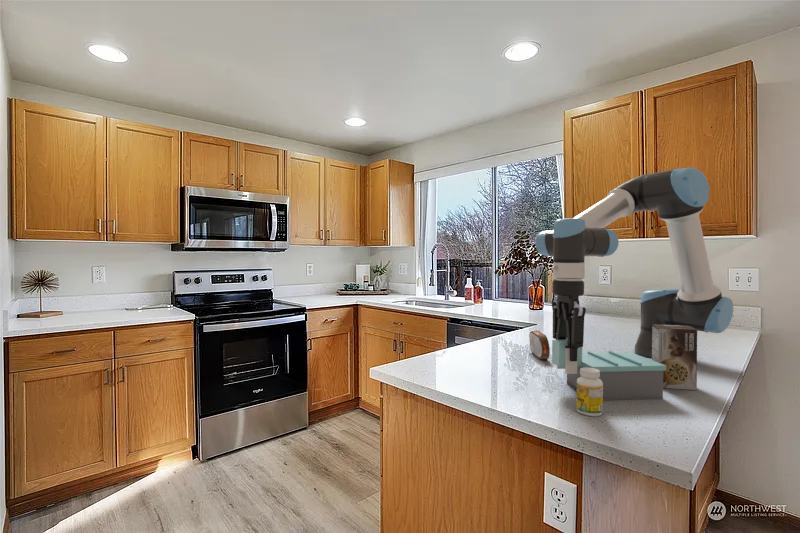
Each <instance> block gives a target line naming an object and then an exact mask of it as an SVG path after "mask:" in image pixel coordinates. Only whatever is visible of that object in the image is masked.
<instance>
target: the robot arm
mask: <svg viewBox="0 0 800 533" xmlns="http://www.w3.org/2000/svg"><path fill="white" fill-rule="evenodd" d="M710 189H711V188H710V184H709V182H708V179H707V176H705V174H704V173H703V172H702V170H700V169H699V168H698V169H697V168H695V167H685V168H682V167H681V168H680V167H678V168H674V169H669V170H663V171H657V172H654V173H653V172H652V173H646V174H642V175H639V176H637V177H634V178H631V179H629V180H628V181H626V182H624V183H622V184H619V185H618V186H617V187H615V188H614V189H612V190H610V191H608V194H607V195H606V197H605V198H603V199H602V200H600V201H598V202H597V203H594V204H593V205H592V206H590V207H589V208H587V209H586V210H583V212H581V213H579V214H578V215H576V216H574V217H573V218H571V217H570V218H568V217H567V218H558V219H557V220H555V221H554V223H553V229H552V230H550V229H548V230H543V231H541V232H539V233H538V234H537V236H536V237H535V242H534V244H535V248H536V250H537V252H538V253H539V254H540V255H541V256H548V257H551V258H552V266H551V270H552V278H554V280H552V287H551V289H552V290H551V292H552V294H553V295H554V296H557V299H556V301H551V308H552V340H567V344H568V346H565V348H566V360H565V367H558V366H557V365H556V369H558V370H562V369H564V371H565V372H564V373H565V374H566V375H567V374H577V349H578V348H579V347H582V348H583V347H584V335H585V333H584V332H585V331H584V330H585V316H586V311H587V309H586V307H581V306H580V299H579V298H580V297H581V296H584V294H585V282H584V280H583V279H585V264H586V263H585V259H586V258H585V257H600V258H603V257H608V256H611V255H613V254H615V252H616V251H617V250H618V248H619V237H618V235H617V233H616V232H615V231H614V230H612V229H609V228H605V227H607V226H609V225H610V224H612V223H614V222H615V221H616V220H618V219H619V218H624V217H629V216H630V215H631V214H634V213H638V212H648V211H649V212H650V211H656V212H657V215H658V219H660V220H661V221H664V222H665V224H666V229H667V232H668V237H669V242H670V246H671V251H672V254H673V255H672V256H673V259H674V264H675V267H676V272H677V276H678V280H679V281H678V282H679V285H680V289H679V288H677V289H676V288H675V289H673V288H672V289H658V290H656V289H655V290H645V291H643V292H642V293H641V298H640V330H639V334H638V336H637V339H636V342H635V344H634V350H633V351H634V354H636V355H639V356H642V357H647V358H652V324H657V325H685V326H691V327H693V328H694V329H697V332H703V333H707V334H709V333H711V334H720V333H723V332H725V331H726V330H727V329H728V327H729V326H730V325H731V322H732V320H733V319H732V318H733V316H734V303H733V300H732V299H731V298H729V297H727V296H723V294H722V290H721V288H720V287H719V286H717V285H715V284H714V281H713V276H712V271H711V267H710V263H709V258H708V253H707V248H706V242H705V238H704V234H703V229H702V224H701V220H700V214H701V213H702V212H703V210H704V206H705V205H706V204H707V203H708V201H709V198H710V194H709V193H710Z"/></svg>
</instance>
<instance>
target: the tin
mask: <svg viewBox="0 0 800 533" xmlns="http://www.w3.org/2000/svg"><path fill="white" fill-rule="evenodd" d="M528 336H529V337H528V338H529V350H530V351H531V353H532V355H534V356H535V357H536V358H537V359H538V360H548V359H549V358H550V351H551V350H550V342H549V340H548V337H547V335H546V334H544V333H543V332H541V331H540V330H532V331H529V334H528Z"/></svg>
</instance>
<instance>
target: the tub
mask: <svg viewBox="0 0 800 533" xmlns="http://www.w3.org/2000/svg"><path fill="white" fill-rule="evenodd" d="M581 368H584V367H582V366H578V367H577V374H566V384H567V385H568V386H569V387H571V388H573V389H574V390H576V391H577V379H578V378H579V377H581V375H580V369H581ZM598 379H600V380H601V381H602V382H603V401H609V400H610V401H611V400H616V401H618V400H652V399H653V400H655V399H656V400H657V399H660V400H661V399H664V388H663V371H612V372H600V377H599V378H598Z"/></svg>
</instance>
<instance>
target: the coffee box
mask: <svg viewBox="0 0 800 533" xmlns="http://www.w3.org/2000/svg"><path fill="white" fill-rule="evenodd" d="M651 360H653V361H655V362H658V363H661V364H663V365H666V370H664V371H663V389H676V390H688V391H697V388H698V387H697V386H698V384H697V383H698V368H697V367H698V331H697V329H694V328H693V327H691V326H685V325H657V324H652V357H651Z"/></svg>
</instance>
